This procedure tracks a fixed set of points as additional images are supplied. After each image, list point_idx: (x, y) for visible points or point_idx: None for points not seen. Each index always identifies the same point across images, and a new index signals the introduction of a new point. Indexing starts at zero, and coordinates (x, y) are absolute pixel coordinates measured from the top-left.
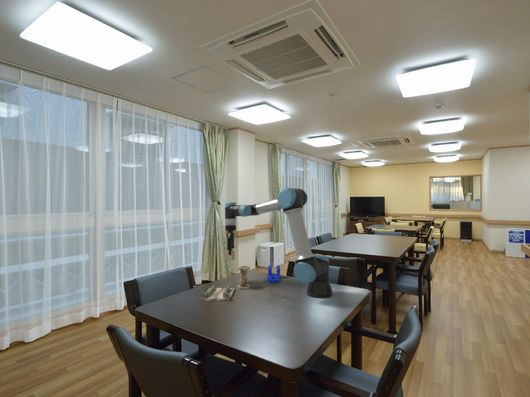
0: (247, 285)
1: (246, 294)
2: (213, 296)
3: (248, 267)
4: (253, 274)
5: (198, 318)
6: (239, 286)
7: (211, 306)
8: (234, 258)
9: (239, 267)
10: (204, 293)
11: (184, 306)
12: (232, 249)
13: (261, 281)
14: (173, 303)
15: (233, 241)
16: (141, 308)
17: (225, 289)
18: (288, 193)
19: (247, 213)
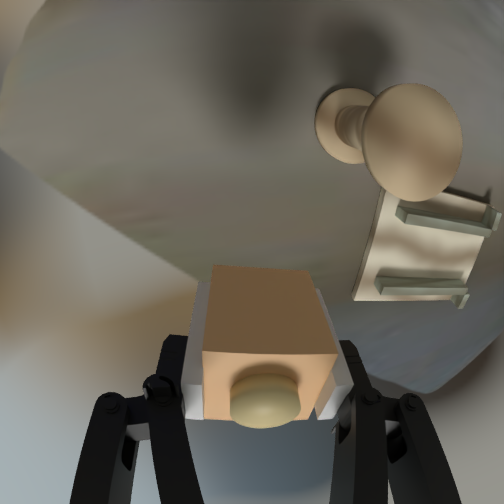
0: (346, 102)
1: None
2: (458, 265)
3: (427, 98)
4: (47, 91)
5: None
6: (359, 152)
7: (500, 255)
8: (232, 268)
9: (413, 182)
10: (466, 300)
11: (469, 321)
12: (275, 388)
13: (218, 11)
14: (437, 352)
15: (109, 494)
16: (432, 390)
17: (461, 231)
18: None
19: None
